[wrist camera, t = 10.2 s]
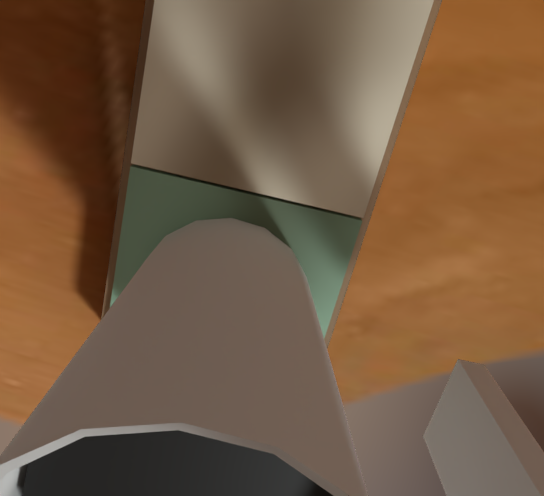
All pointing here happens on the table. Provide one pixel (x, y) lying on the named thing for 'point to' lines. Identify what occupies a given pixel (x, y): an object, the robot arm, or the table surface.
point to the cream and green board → (267, 126)
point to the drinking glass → (196, 384)
